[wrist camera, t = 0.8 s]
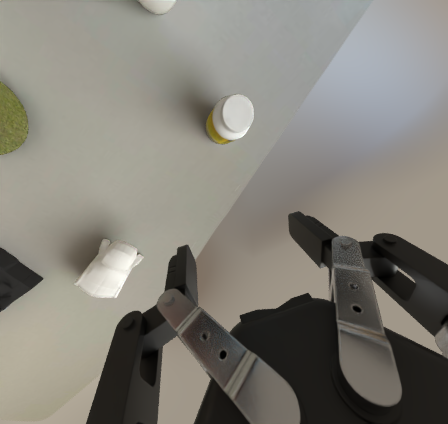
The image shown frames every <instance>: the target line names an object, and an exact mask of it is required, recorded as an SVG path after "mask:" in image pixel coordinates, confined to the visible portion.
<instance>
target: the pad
mask: <svg viewBox="0 0 448 424" xmlns="http://www.w3.org/2000/svg"><path fill="white" fill-rule="evenodd" d="M42 280H43V278H42V277H41V276H39V275H38V274H36V273H35V272H33V271H32V270H30V269H29V268H27V267H26V266H25V265H23V264H22V263H20V262H19V261H18V260H17V259H16V258H15V257H14V256H12V255H11V254H9V253H8V252H6V251H5V250H3V249H2V248H0V312H1V311H2V310H4V309H5V308H6V307H8V306H9V305H10V304H11V303H12V302H14V301H15V300H16V299H18V298H19V297H21V296H22V295H24V294H25V293H27V292H28V291H30V290H31V289H32V288H33V287H35V286H36V285H37V284H38V283H39V282H40V281H42Z"/></svg>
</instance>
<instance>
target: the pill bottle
mask: <svg viewBox="0 0 448 424" xmlns="http://www.w3.org/2000/svg"><path fill="white" fill-rule="evenodd" d="M253 118H254V109H253V106H252V103H251V102H250V100H249V99H248V98H247V97H245V96H244V95H241V94H235V95H232V96H226V97H224V98H222V99H221V100H219V101H218V103H217V104H216V105H215V107H214V109H213V110H212V112H211V113H210V115H209V116H208V118H207V121H206V132H207V134H208V136H209V138H210V139H211V140H212V141H213V142H215V143H217V144H227V143H229V142H232V141H234V140H237V139H239V138H241V137H242V136H244V135H245V134H246V132H247V131H248V129H249V126H250V125H251V123H252V121H253Z"/></svg>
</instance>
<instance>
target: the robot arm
mask: <svg viewBox="0 0 448 424" xmlns="http://www.w3.org/2000/svg"><path fill="white" fill-rule="evenodd" d="M288 219H289V232H290V235H291V236H292V238H293V239H294V240H295V241H296V242H297V243H298V244H299V246H300V247H301V248H302V249H303V250H304V251H305V252H306V253H307V254H308V256H309V257H310V258H311V259H312V260H313V261H314V262H315V263H316V264H317V265H318V267H319V268H323V267H326V266H327V267H328V268H329V272H328V274H329V275H328V276H329V301H328V300H325V299H319V298H312V297H311V296H310V294H309V293H306V294H303V295H300V296H297V297H294V298H291V299H290V300H289V301H287V302H286V303H284V304H283V305H281V306H280V307H278V308H276V309H262V310H255V311H252V312H249V313H246V314H242V315H240V319H241V322H239V323H238V324H237V325H236V326H235V327H234V328H233V329H232V330H231V331H230V333H229V332H228V331H227V330H226V329H224V328H223V327H222V326H221V325H220V324H219V323H218V322H217V321H216V320H214V319H213V318H212V317H211V316H210V315H209V314H208V313H207V312H206V311H204V310H203V309H202V308H201V307H199V308H197V307H198V292H197V272H196V262H195V259H194V257H193V255H192V252H191V250H190V248H189V246H188V245H185V246H181V247H178V249H177V255H175V256H172V258H171V260H170V261H169V266H168V272H167V273H168V274H167V279H166V285H165V292H164V293H163V294H162V295H161V296H160V297H159V299H158V301H157V304H156V305H155V306H154V307H152V308H151V309H149V310H147V311H146V312H144V313H143V314H142V313H141V312H140V311H132V312H130V313H128V314H127V315H125V316H124V317H123V318H122V319H121V321H120V322H119V323H118V325H117V327H116V330H115V333H114V336H113V339H112V342H111V346H110V349H109V352H108V355H107V358H106V362H105V365H104V368H103V371H102V374H101V378H100V381H99V384H98V387H97V390H96V394H95V397H94V400H93V403H92V406H91V410H90V413H89V416H88V419H87V422H86V424H157V420H158V406H159V405H158V404H159V392H160V377H161V364H162V363H161V362H162V349H163V345H165V344H166V343H168V342H169V341H170V340H172V339H173V338H175V337H176V336H178V337H179V339H180V340H181V341H182V343H183V344H184V345H185V346H186V348H187V349H188V350H189V351H190V352H191V354H192V355H193V356H194V358H195V359H196V360H197V362H198V363H199V364H200V366H201V367H202V368H203V369H204V371H205V372H206V373H207V374H208V376H209V377H210V378H211V380H210V382H209V385H208V388H207V390H206V393H205V396H204V398H203V401H202V404H201V406H200V409H199V411H198V414H197V417H196V419H195V422H194V424H448V265H447V264H446V263H444V262H442V261H441V260H439V259H437V258H435V257H434V256H432V255H430V254H428V253H427V252H425V251H423V250H422V249H420V248H418V247H416V246H415V245H413V244H411V243H409V242H407V241H406V240H404V239H402V238H401V237H398V236H396V235H393V234H387V233H382V234H377V235H375V236H374V237H373V241H366V242H357V241H356V240H355V239H353V238H350V237H346V236H338V235H337V234H336V233H334V232H333V231H332V230H330V229H329V228H328V227H326V226H324V225H323V224H322V223H321V222H319V221H318V220H317V219H315V218H314V217H311V216H305V215H304V214H302V213H301V212H299V211H298V212H295V213H291V214H289V216H288ZM398 267H399V268H400V269H401V270H403V271H404V272H405V273H407V274H408V275H409V276H411V277H412V278H413V279H414V281H415V283H414V282H413V281H411V280H410V279H409V278H408V277H406V276H405V275H404V274H402V273H401V272H399V271H398V270H397V269H398ZM372 280H373V281H374V282H375V283H376V284H377V285H379V286H380V287H381V288H382V289H383V290H384V291H385V292H386V293H387V294H389V296H391V297H392V298H393V299H394V300H395V301H396V302H397V303H398V304H399V305H400V306H402V307H403V308H404V309H405V310H406V311H407V312H408V313H409V314H410V315H411V316H412V317H413V318H415V319H416V320H417V321H418V322H419V323H420V324H421V325H422V326H423V327H424V328H425V329H427V330H428V331H429V332H430V333H431V334H432V335H433V336H434V337H435V341H436V344H437V346H438V347H439V349H440V350H441V351H442V352H443V353H442V354H443V355H440V354H438V353H436V352H434V351H432V350H430V349H428V348H426V347H424V346H422V345H420V344H418V343H416V342H414V341H412V340H410V339H408V338H406V337H404V336H402V335H399V334H397V333H395V332H393V331H391V330H389V329H387V328H385V327H383V324H382V320H381V316H380V311H379V307H378V303H377V299H376V295H375V291H374V287H373V283H372Z"/></svg>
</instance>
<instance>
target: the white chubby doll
mask: <svg viewBox="0 0 448 424" xmlns="http://www.w3.org/2000/svg"><path fill="white" fill-rule="evenodd" d="M109 244H110V241H109V240H108V239H103V240H102V242H101V244H100V247H99V254H98V255H97V256H96V257H95V259H94V260H93V261H92V262H91V263H90V265H89V266H88V267H87V268H86V270H85V271H84V272H83V273H82V274H81V275H80V277H79V278H78V279H77V280H76V281H75V282H74V285H77V286H78V287H79V288H80V289H81V290H82V291H84V292H85V293H86V294H88V295H90V296H93V297H98V298H110V297H112V298H116V297H117V295H118V293H119V292H120V290H121V288H122V286H123V284H124V282H125V280H126V279H127V277H128V275H129V273H130V271H131V269H132V268H133V267H134V266H136V265H137V264H138V263H139V262H140V261H141V260H142V259H143V258H144V257H143V256H142V255H141V254H138V255H137V249H136V248H135V247H134V246H132V245H131V244H129V243H126V242H124V241H120V240H116V241H115V242H113V243H112V244H110V245H109Z"/></svg>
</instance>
